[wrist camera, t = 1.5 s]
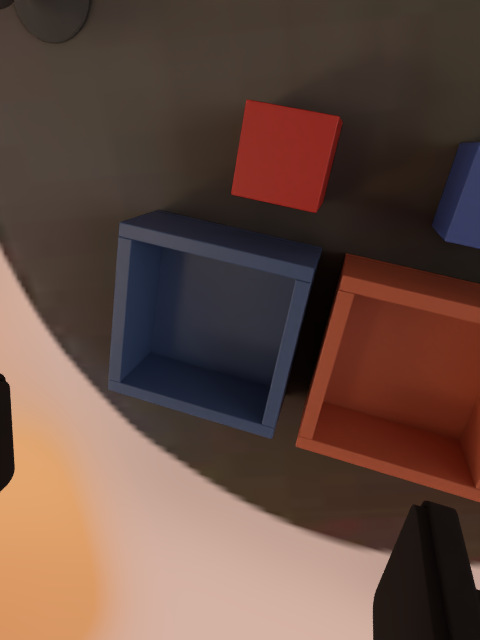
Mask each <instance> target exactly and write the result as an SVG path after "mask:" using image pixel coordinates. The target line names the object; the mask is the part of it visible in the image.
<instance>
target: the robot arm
mask: <svg viewBox="0 0 480 640" xmlns="http://www.w3.org/2000/svg"><path fill="white" fill-rule="evenodd" d="M12 434H13V433H12V416H11V399H10V386H9V384H8V383H7V382H6V380H5V377H4V376H3V375H2V374H0V491H1V490H2V489H3V488H4V487H5V486H6V485H7V484H8V483H9V482H10V480H11V479H12V477H13V474H14V469H15V468H14V450H13V435H12ZM373 640H480V590H477V589H476V587H475V583H474V580H473V575H472V571H471V567H470V563H469V559H468V555H467V551H466V547H465V542H464V538H463V534H462V530H461V526H460V522H459V518H458V514H457V512H456V510H455V509H453V508H450V507H447V506H443V505H440V504H436V503H433V502H430V501H424V502H423V503H422V505H421V506H417V505H412V507H411V508H410V511H409V513H408V515H407V518H406V520H405V523H404V525H403V527H402V530H401V532H400V534H399V537H398V539H397V542H396V544H395V546H394V549H393V551H392V554H391V556H390V558H389V561H388V563H387V565H386V568H385V570H384V573H383V575H382V578H381V580H380V582H379V585H378V587H377V589H376V593H375V596H374V602H373Z"/></svg>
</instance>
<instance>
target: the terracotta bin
mask: <svg viewBox="0 0 480 640" xmlns="http://www.w3.org/2000/svg"><path fill="white" fill-rule="evenodd" d="M296 447H299V448H302V449H306V450H309V451H312V452H316V453H319V454H322V455H326V456H329V457H332V458H335V459H339V460H342V461H345V462H349V463H352V464H355V465H359V466H362V467H365V468H369V469H372V470H375V471H378V472H382V473H385V474H388V475H392V476H395V477H398V478H402V479H405V480H408V481H412V482H415V483H418V484H421V485H425V486H428V487H431V488H435V489H438V490H441V491H445V492H448V493H451V494H455V495H458V496H461V497H464V498H468V499H471V500H474V501H478V502H480V284H479V283H474V282H470V281H466V280H461V279H457V278H453V277H448V276H444V275H440V274H435V273H431V272H426V271H422V270H418V269H413V268H409V267H405V266H400V265H396V264H392V263H387V262H383V261H379V260H374V259H370V258H366V257H361V256H357V255H352V254H348V253H346V255H345V258H344V262H343V266H342V269H341V273H340V276H339V280H338V284H337V287H336V291H335V295H334V298H333V302H332V306H331V309H330V313H329V316H328V320H327V324H326V327H325V331H324V335H323V338H322V342H321V346H320V349H319V353H318V356H317V360H316V364H315V367H314V371H313V375H312V378H311V382H310V386H309V389H308V393H307V396H306V400H305V404H304V409H303V414H302V418H301V423H300V427H299V432H298V437H297V441H296Z"/></svg>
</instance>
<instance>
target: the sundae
mask: <svg viewBox="0 0 480 640" xmlns="http://www.w3.org/2000/svg"><path fill="white" fill-rule="evenodd" d="M13 2H14V5H15V8H16V11H17V14H18V16H19V18H20V20H21V21H22V23H23V24H24V25H25V27H26V28H27V29H28V30H29V32H30V33H32V34H33V35H34V36H36V37H37V38H39V39H41V40H42V41H45V42H50V43H60V42H63V41H66V40H68V39H70V38H72V37H73V36H74V35H75V34H76V33H77V32H78V31H79V29H80V28H81V27H82V25H83V23H84V21H85V18H86V15H87V12H88V8H89V0H0V9H3V8H6V7H8V6H10V5H11V4H12V3H13Z"/></svg>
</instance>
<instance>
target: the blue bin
mask: <svg viewBox="0 0 480 640" xmlns="http://www.w3.org/2000/svg"><path fill="white" fill-rule="evenodd" d="M321 252H322V247H318V246H313V245H309V244H305V243H300V242H296V241H291V240H287V239H283V238H278V237H274V236H270V235H265V234H261V233H257V232H252V231H248V230H244V229H239V228H235V227H231V226H226V225H222V224H217V223H213V222H209V221H204V220H200V219H196V218H191V217H187V216H183V215H178V214H174V213H170V212H165V211H161V210H156V211H153V212H150V213H147V214H144V215H141V216H138V217H134V218H131V219H128V220H125V221H122V222H120V223H119V237H118V249H117V264H116V278H115V292H114V307H113V321H112V336H111V350H110V364H109V382H108V390H111V391H114V392H117V393H121V394H124V395H127V396H131V397H134V398H137V399H141V400H144V401H147V402H151V403H154V404H157V405H160V406H164V407H167V408H170V409H174V410H177V411H180V412H184V413H187V414H190V415H194V416H197V417H200V418H203V419H207V420H210V421H213V422H217V423H220V424H223V425H227V426H230V427H233V428H237V429H240V430H243V431H246V432H250V433H253V434H256V435H260V436H263V437H266V438H270V439H272V438H273V434H274V431H275V428H276V424H277V421H278V418H279V415H280V411H281V408H282V405H283V401H284V398H285V394H286V390H287V386H288V383H289V379H290V375H291V371H292V367H293V363H294V359H295V355H296V351H297V347H298V343H299V339H300V335H301V331H302V327H303V323H304V319H305V315H306V311H307V307H308V303H309V299H310V295H311V292H312V288H313V284H314V280H315V276H316V272H317V268H318V264H319V260H320V256H321Z"/></svg>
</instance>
